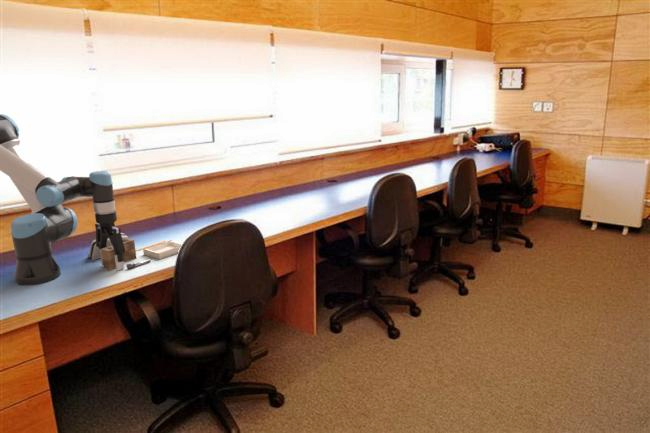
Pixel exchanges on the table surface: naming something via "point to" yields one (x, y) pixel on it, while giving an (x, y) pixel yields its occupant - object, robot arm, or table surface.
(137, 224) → the table surface
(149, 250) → the tray
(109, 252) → the block
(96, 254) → the napkin holder
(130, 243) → the block
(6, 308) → the table surface
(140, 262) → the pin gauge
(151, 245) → the pencil
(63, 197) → the robot arm
